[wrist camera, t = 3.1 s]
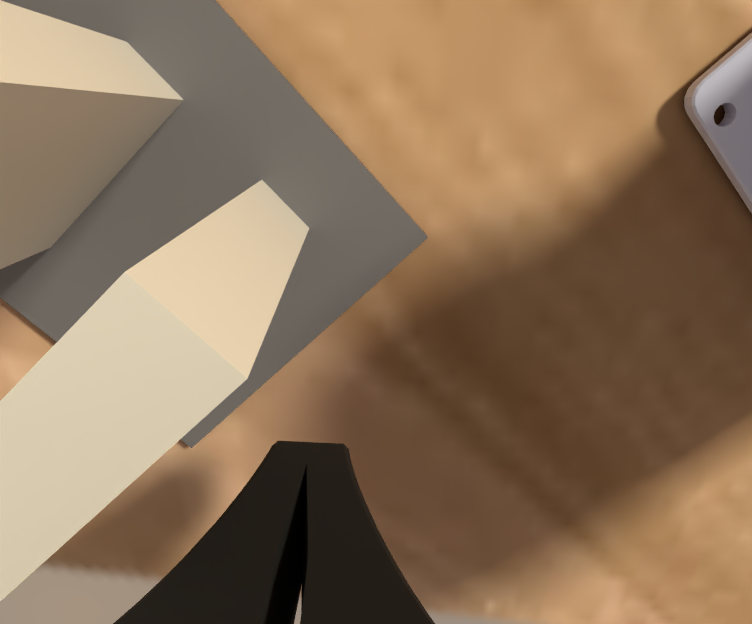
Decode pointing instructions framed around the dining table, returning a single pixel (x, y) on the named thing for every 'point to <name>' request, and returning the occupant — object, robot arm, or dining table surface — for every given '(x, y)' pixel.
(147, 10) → the runner mat
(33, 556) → the domino
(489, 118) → the dining table surface
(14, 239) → the domino
